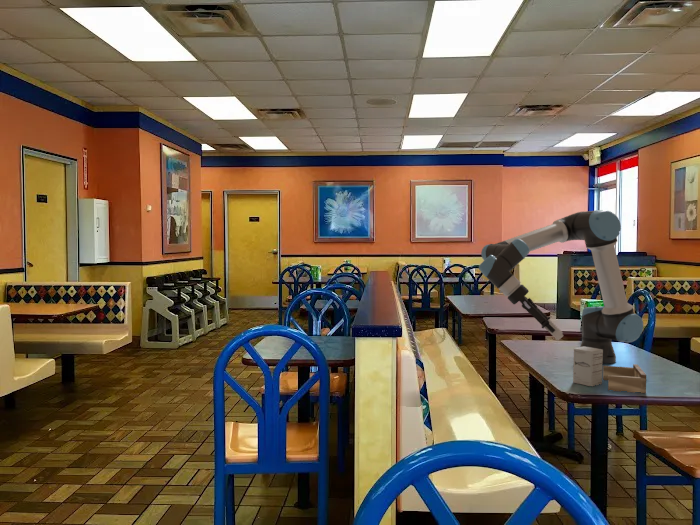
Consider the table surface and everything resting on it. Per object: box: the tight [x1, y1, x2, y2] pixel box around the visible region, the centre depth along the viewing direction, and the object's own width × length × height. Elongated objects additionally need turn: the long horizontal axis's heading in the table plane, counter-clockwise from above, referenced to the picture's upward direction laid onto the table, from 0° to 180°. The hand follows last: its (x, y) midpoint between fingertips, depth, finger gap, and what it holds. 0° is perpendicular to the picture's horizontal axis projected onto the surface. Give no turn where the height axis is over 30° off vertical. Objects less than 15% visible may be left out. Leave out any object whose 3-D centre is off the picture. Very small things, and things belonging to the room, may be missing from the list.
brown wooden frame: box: [602, 363, 647, 394], centre depth 203 cm, size 17×12×6 cm
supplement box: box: [572, 346, 603, 387], centre depth 207 cm, size 7×7×13 cm
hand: (560, 336), depth 209 cm, fingers open, 6 cm apart
